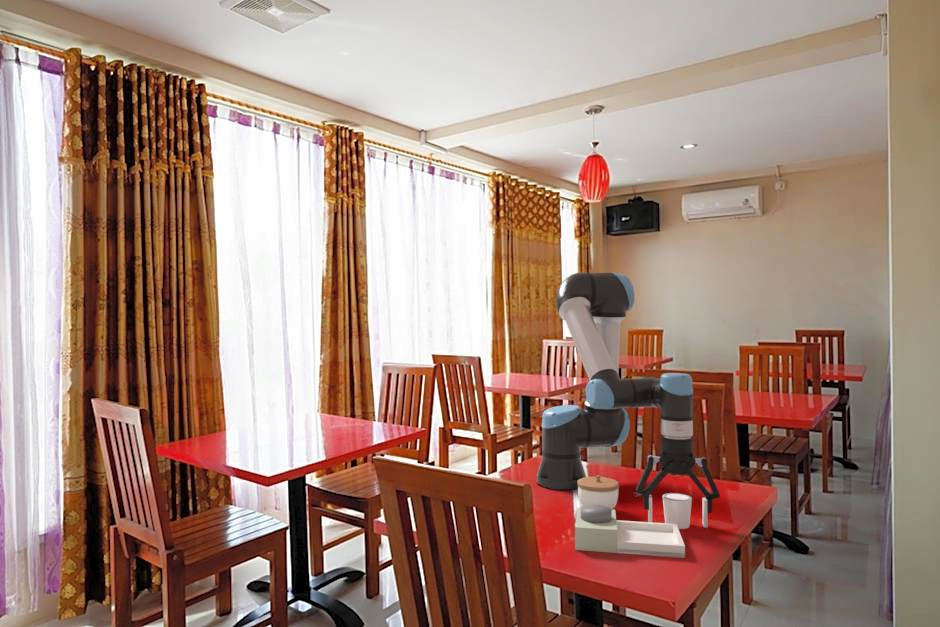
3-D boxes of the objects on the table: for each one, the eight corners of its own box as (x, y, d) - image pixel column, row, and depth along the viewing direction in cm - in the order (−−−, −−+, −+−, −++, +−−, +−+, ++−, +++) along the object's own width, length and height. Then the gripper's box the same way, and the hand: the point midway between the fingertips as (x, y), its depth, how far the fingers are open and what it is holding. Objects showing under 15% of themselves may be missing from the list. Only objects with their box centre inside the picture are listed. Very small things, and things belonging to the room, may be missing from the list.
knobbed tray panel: (577, 528, 148) (577, 499, 148) (676, 534, 143) (676, 504, 143) (575, 549, 134) (575, 518, 134) (685, 557, 130) (684, 525, 130)
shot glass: (662, 528, 148) (662, 499, 148) (662, 519, 154) (662, 491, 154) (692, 531, 146) (692, 501, 146) (691, 521, 152) (691, 493, 152)
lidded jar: (588, 519, 154) (588, 482, 154) (570, 506, 164) (570, 472, 164) (626, 515, 157) (626, 479, 157) (606, 503, 167) (606, 469, 167)
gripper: (626, 437, 149) (627, 526, 149) (732, 441, 144) (733, 532, 144) (625, 431, 156) (625, 516, 156) (726, 435, 151) (726, 522, 151)
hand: (677, 524), depth 150 cm, fingers open, 12 cm apart
